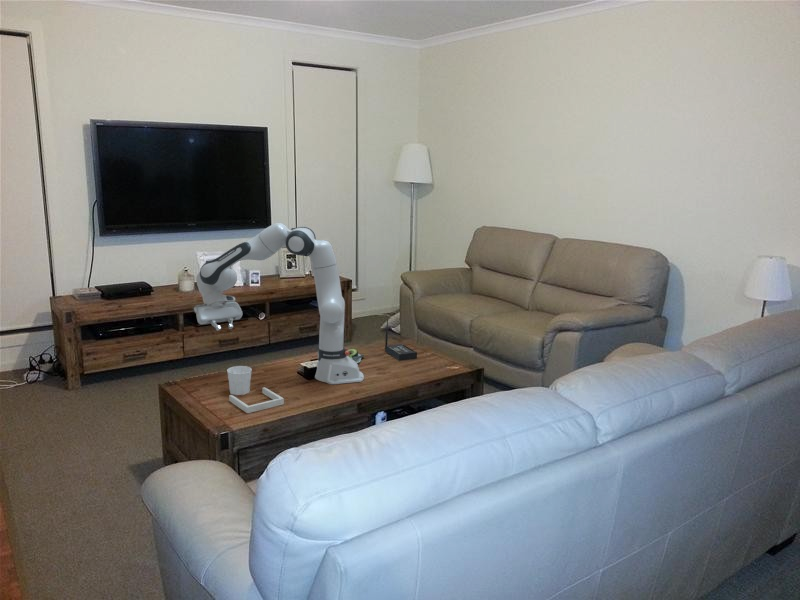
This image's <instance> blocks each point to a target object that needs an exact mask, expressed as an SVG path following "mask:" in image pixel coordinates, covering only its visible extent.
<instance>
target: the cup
mask: <svg viewBox="0 0 800 600" xmlns="http://www.w3.org/2000/svg"><path fill="white" fill-rule="evenodd" d="M252 370H253V369H252V368H251V367H250V366H246V365H235V366H231V367H229V368H227V369H226V371H227V379H228V385H229V387H228V388H229V392H230V395H233V396H235V397H237V396H245V395H246V394H249V393H250V392H251V391H250V389H251V379H252Z"/></svg>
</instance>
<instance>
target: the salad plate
mask: <svg viewBox="0 0 800 600" xmlns="http://www.w3.org/2000/svg"><path fill="white" fill-rule="evenodd" d="M347 350H348V351H349V357H350V358H351V359H353V360H354V361H355V362H356V363H357V364H359V363H360V362H362V359H363V358H364V357H365V354H359V352H358V349H356V348H349V349H347Z"/></svg>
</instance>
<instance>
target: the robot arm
mask: <svg viewBox="0 0 800 600" xmlns="http://www.w3.org/2000/svg"><path fill="white" fill-rule="evenodd" d="M285 247H286V250H288V252H289V253H290V254H292V255H295V256H302V257H309V260H310V263H311V268H312V272H313V273H312V275H313V279H314V283H315V284H314V285H315V291H316V292H315V293H316V300H317V305H318V313H319V316H320V318H319V319H320V320H319V333H318V334H319V336H318V340H319V341H318V348H317V367H316V372H315V375H314V379H315V380H317V381H319V382H321V383H322V382H323V383H327V384H328V385H339V384H350V383H351V384H352V383H360V382H361V383H362V382H363V381H364V380H365V376H364V373H363V372H362V371H360V368H359V364H358V363H356V362H355V361H354V360H353V359H351V358H350V357H349V351H348V350H349V349H347V348H346V347H344V342H345V341H344V340H345V339H344V338H345V337H344V336H345V332H344V331H345V312H346V311H345V310H346V301H345V298H344V297H343V295H342V286H341V279H340V274H339V268H338V262H337V258H336V255H335V251H334V249H333V246H332V244H331V242H329V241H327V240H323V239H319V240H317V239H316V234H315V232H314V231H313V230H312V229H311V228H309V227H307V226H298V227H292V228H290V229H289V228H288V226H286V225H285V224H284V223H281V222H275V223H273V224H271V225H269V226H267V227H266V228H264V229H263V230H262V231H260V232H259V233H257V235H255V236H253V237H252V238H250V239H249V240H246V241H244V242H240V243H238V244H237V245H235V246H233V247H232V248H230V249H229V250H227V251H226V252H224V253H222V254H221V255H219V256H218V257H216V258H214V259H211V260H208V261H206V262H204V263H203V265H202V266H201V267H200V270H199V272H198V274H197V275H196V281H195V282H196V285H197V288H198V291H199V293H200V295H201V296H202V301H203V303H202V304H196V305H194V307H193V311H194V313H195V314H196V315H195V316H196V320H197V323H198V324H199V325H200V326H201V325H209V324H211V326H212V327H214V328H215V330H216V331H217V332H219V331H221V330H222V327H221V325H219V324H217V323H221V322H228V323H229V324H228V325H227V327H228V329H229V330H231V329H233V328H234V324H233V321H237V320H240V319H241V318H242V317H243V310H242V308H241V306H240V304H239V303H238V302H236V297H235V296H232V295H225V294H223V292H226V291H228V290H231V289H232V288H233V287H234V286H235V285H236V283H237V281H238V275H237V272H236V271H235V270H234V269H232V268H231V267H232V266H233V265H235V264H237V263H239V262H241V261H247V260H249V261H252V260H253V261H265V260H267V259H269V258H271V257H272V256H273V255H275V254H276V253H278V252H279V251H280V250H281V249H282V248H285Z"/></svg>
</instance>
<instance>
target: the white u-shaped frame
mask: <svg viewBox="0 0 800 600" xmlns="http://www.w3.org/2000/svg"><path fill="white" fill-rule="evenodd" d="M262 394H263V395H265V396H266V397H268V398H270V399H271V400H266V401H263V402H259V403H255V404H251V405H248V404H247V403H245V402H243V401H242V400H241V399H240V398H238V397H237V396H236V395H234V394H230V395H228V396H229V397H228V400H229V402H230V403H232V405H235V406H236V407H238V408H239V409H240V410H242V411H243V412H245V413H246V414H250V413H251V414H252V413H255V412H259V411H263V410H266V409H271V408H275V407H279V406H281V405H284V404H285V398H284V397H282V396H281V395H279V394H277V393H275V392H274V391H272V390H271V389H269V388H267V387H265V386H264V387H262Z"/></svg>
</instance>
